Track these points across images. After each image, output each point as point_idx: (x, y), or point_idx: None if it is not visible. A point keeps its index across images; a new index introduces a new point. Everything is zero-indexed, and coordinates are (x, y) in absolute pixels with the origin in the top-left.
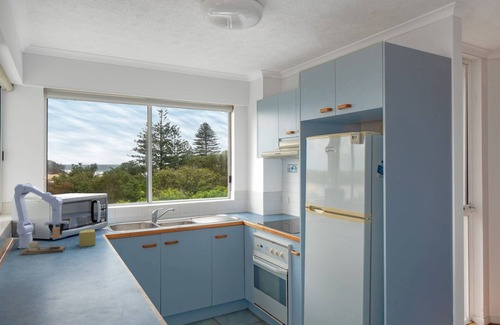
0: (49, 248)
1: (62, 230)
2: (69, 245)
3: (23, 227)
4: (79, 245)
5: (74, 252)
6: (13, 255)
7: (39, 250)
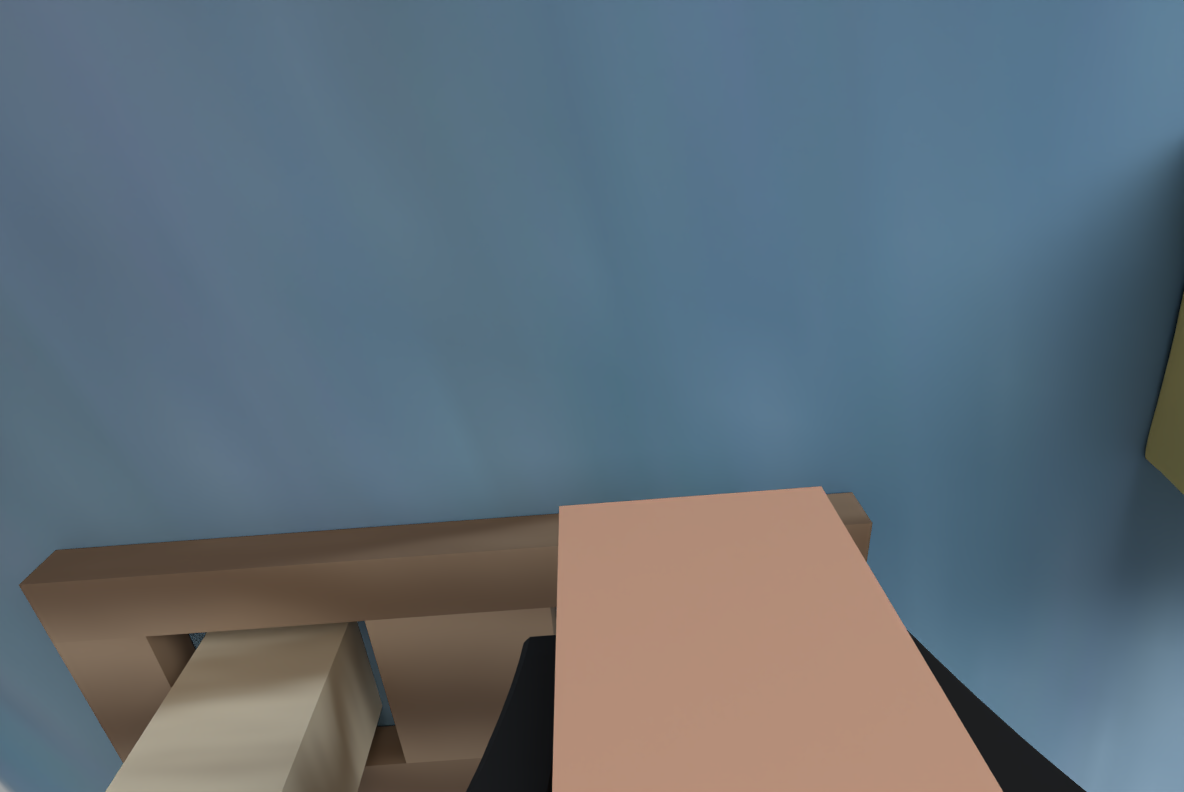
0: (553, 622)
1: (1024, 758)
2: (928, 275)
3: None
4: (1162, 473)
5: None
6: (67, 777)
7: (430, 759)
